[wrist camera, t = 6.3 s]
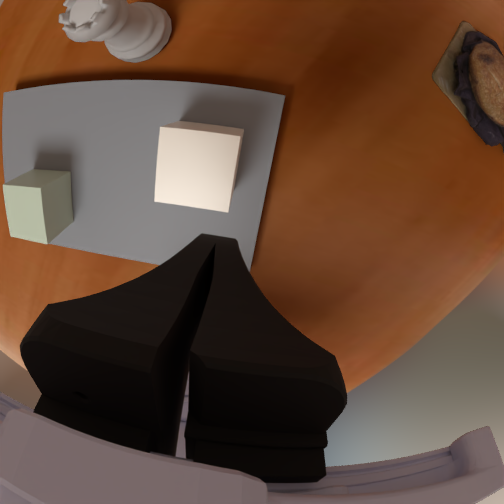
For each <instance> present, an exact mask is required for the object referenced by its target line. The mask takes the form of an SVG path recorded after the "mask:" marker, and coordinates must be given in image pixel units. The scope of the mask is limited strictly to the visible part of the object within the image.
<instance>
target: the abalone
mask: <svg viewBox="0 0 504 504" xmlns="http://www.w3.org/2000/svg"><path fill="white" fill-rule="evenodd" d="M432 78H433V80H434V82H435V83H436V84H437V85H438V87H439V88H440V89H441V90H442V92H444V94H445V95H446V96H447V97H448V98H449V99H450V100H451V102H452V103H453V104H454V105H455V106H456V108H457V109H458V110H459V111H460V112H461V113H462V115H463V116H464V117H465V118H466V120H467V121H468V122H469V123H470V126H471V127H472V128H473V129H474V131H475V132H476V133H477V134H478V135H479V136H480V137H481V138H482V139H483V141H484V142H485V143H486V145H487V144H488V145H490V146H495V145H498V144H499V143H500V144H501V145H502V146H503V152H504V57H503V54H502V53H501V51H500V49H499V47H498V45H497V43H496V42H495V41H494V40H492V39H490V38H489V37H487V36H485V35H484V34H482V33H481V32H479V31H476V30H475V29H474V28H473V27H472V25H471V24H469V23H468V22H465V21H462V22H461V23H460V25H459V28H458V30H457V32H456V33H455V35H454V37H453V39H452V40H451V42H450V44H449V46H448V48H447V49H446V51H445V53H444V54H443V56H442V58H441V60H440V61H439V63H438V65H437V67H436V68H435V70H434V72H433V74H432Z"/></svg>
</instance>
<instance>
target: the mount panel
mask: <svg viewBox="0 0 504 504" xmlns="http://www.w3.org/2000/svg"><path fill="white" fill-rule="evenodd" d="M284 99H285V95H280V94H275V93H269V92H264V91H258V90H252V89H246V88H239V87H232V86H224V85H215V84H206V83H195V82H182V81H163V80H103V81H86V82H73V83H63V84H54V85H46V86H39V87H33V88H27V89H21V90H15V91H10V92H5V93H4V97H3V120H2V142H3V165H4V178H5V183H7V182H9V181H11V180H13V179H14V178H16V177H18V176H20V175H22V174H24V173H26V172H28V171H30V170H32V169H39V170H56V171H70V172H71V194H72V209H73V221H74V222H73V223H71V224H70V225H69V226H68V227H67V228H66V229H64V230H63V231H62V232H61V233H60V234H59V235H58V236H56V237H55V238H54V239H53V240H52V241H51V242H50V243H49V244H54V245H59V246H64V247H68V248H73V249H78V250H83V251H88V252H93V253H99V254H104V255H109V256H114V257H120V258H125V259H130V260H136V261H141V262H147V263H152V264H158V265H161V264H162V263H164V262H165V261H167V260H168V259H170V258H171V257H173V256H174V255H175V254H176V253H178V252H179V251H180V250H182V249H183V248H184V247H185V246H187V245H188V244H189V243H190V242H191V241H193V240H194V239H195V238H196V237H197V236H198V235H200V234H201V233H204V234H211V235H217V236H223V237H229V238H235V239H236V240H237V241H238V244H239V248H240V252H241V254H242V257H243V259H244V262H245V264H246V266H247V268H248V270H249V272H250V268H251V263H252V258H253V253H254V248H255V243H256V238H257V233H258V228H259V223H260V218H261V214H262V209H263V204H264V199H265V194H266V189H267V184H268V179H269V174H270V169H271V164H272V159H273V154H274V149H275V144H276V139H277V134H278V129H279V124H280V119H281V114H282V109H283V104H284ZM177 121H186V122H195V123H204V124H212V125H220V126H227V127H234V128H240V129H244V133H243V139H242V145H241V151H240V157H239V162H238V168H237V174H236V181H235V187H234V192H233V196H232V200H231V204H230V208H229V212H228V213H227V212H221V211H215V210H208V209H202V208H195V207H189V206H182V205H175V204H168V203H161V202H154V198H155V180H156V166H157V154H158V143H159V133H160V127H161V126H164V125H167V124H170V123H174V122H177Z"/></svg>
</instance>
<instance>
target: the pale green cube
mask: <svg viewBox="0 0 504 504" xmlns="http://www.w3.org/2000/svg"><path fill="white" fill-rule="evenodd" d="M3 191H4V199H5V206H6V213H7V219H8V225H9V230H10V235H11V236H12V237H16V238H21V239H25V240H30V241H34V242H39V243H44V244H49V243H50V242H51V241H52V240H53V239H54V238H55V237H56V236H58V235H59V234H60V233H61V232H62V231H63V230H64V229H66V228H67V227H68V226H69V225H70V224H71V223H73V222H74V221H73V209H72V194H71V172H70V171H56V170H39V169H32V170H30V171H28V172H26V173H24V174H22V175H20V176H18V177H16V178H14V179H13V180H11V181H9V182H7V183H5V184H3Z"/></svg>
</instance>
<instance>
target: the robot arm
mask: <svg viewBox="0 0 504 504" xmlns="http://www.w3.org/2000/svg"><path fill="white" fill-rule="evenodd" d="M20 352H21V357H22V359H23V362H24V364H25V366H26V368H27V370H28V371H29V373H30V375H31V377H32V378H33V380H34V382H35V383H36V385H37V387H38V388H39V390H40V392H41V393H42V395H41V397H40V399H39V401H38V403H37V405H36V407H35V409H34V410H33V409H32V408H30V407H27V406H26V405H24V404H22V403H20V402H18V401H16V400H14V399H12V398H11V397H9V396H7V395H5V394H3V393H2V392H0V504H475V503H477V502H479V501H481V500H483V499H484V498H486V497H488V496H490V495H491V494H493V493H495V492H497V491H498V490H500V489H501V488H503V487H504V465H503V462H502V459H501V456H500V453H499V450H498V447H497V445H496V442H495V440H494V437H493V434H492V432H491V429H490V427H489V426H486V427H482V428H479V429H476V430H473V431H470V432H468V433H466V434H464V435H462V436H461V437H459V438H458V439H457V440H455V441H454V442H453V443H452V444H451V446H449V447H445V448H442V449H438V450H434V451H430V452H426V453H422V454H417V455H413V456H408V457H403V458H397V459H392V460H386V461H379V462H373V463H365V464H356V465H347V466H334V467H325V457H324V448H325V447H327V444H328V441H327V434H326V431H327V430H328V428H329V427H330V426H331V425H332V423H333V422H334V421H335V420H336V419H337V418H338V416H339V415H340V414H341V413H342V412H343V410H344V408H345V406H346V404H347V393H346V388H345V383H344V380H343V377H342V373H341V371H340V368H339V366H338V363H337V360H336V357H335V356H334V355H333V354H331V353H330V352H328V351H326V350H325V349H323V348H322V347H320V346H319V345H317V344H316V343H314V342H313V341H311V340H310V339H308V338H307V337H306V336H305V335H303V334H302V333H301V332H300V331H298V330H297V329H296V328H295V327H293V326H292V325H291V324H290V323H289V322H288V321H287V320H286V319H285V318H284V317H283V316H282V315H281V314H280V313H279V312H278V311H277V310H276V309H275V308H274V307H273V306H272V305H271V304H270V302H269V301H268V300H267V299H266V297H265V296H264V295H263V293H262V292H261V290H260V289H259V287H258V286H257V284H256V283H255V281H254V279H253V278H252V276H251V274H250V272H249V270H248V268H247V266H246V264H245V262H244V259H243V257H242V254H241V252H240V248H239V244H238V241H237V240H236V239H235V238H229V237H223V236H217V235H211V234H204V233H201V234H200V235H198V236H197V237H196V238H195V239H194V240H193V241H191V242H190V243H189V244H188V245H187V246H185V247H184V248H183V249H182V250H180V251H179V252H178V253H176V254H175V255H174V256H173V257H171V258H170V259H168V260H167V261H165V262H164V263H162V264H161V265H159V266H158V267H156V268H155V269H153V270H151V271H149V272H147V273H146V274H144V275H142V276H140V277H138V278H136V279H134V280H131V281H129V282H126V283H124V284H122V285H119V286H117V287H114V288H112V289H109V290H106V291H103V292H100V293H97V294H93V295H90V296H86V297H82V298H78V299H73V300H68V301H63V302H58V303H53V304H48V305H47V306H46V307H45V309H44V310H43V311H42V313H41V314H40V315H39V317H38V318H37V319H36V321H35V322H34V324H33V325H32V326H31V328H30V329H29V331H28V332H27V334H26V335H25V337H24V338H23V340H22V342H21V344H20Z"/></svg>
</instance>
